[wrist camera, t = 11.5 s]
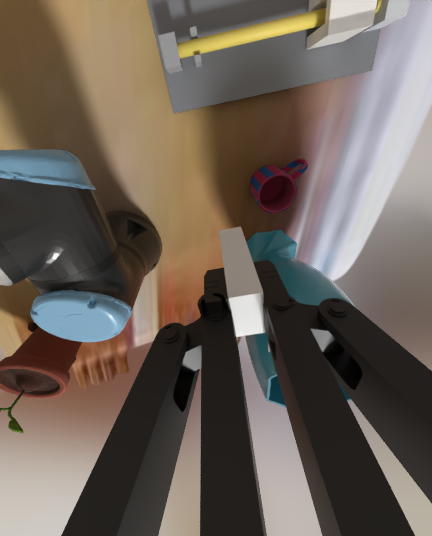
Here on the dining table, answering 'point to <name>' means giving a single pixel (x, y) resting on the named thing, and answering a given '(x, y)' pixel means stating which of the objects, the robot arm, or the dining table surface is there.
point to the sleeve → (341, 20)
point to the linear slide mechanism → (254, 47)
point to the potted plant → (37, 368)
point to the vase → (298, 286)
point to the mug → (276, 186)
